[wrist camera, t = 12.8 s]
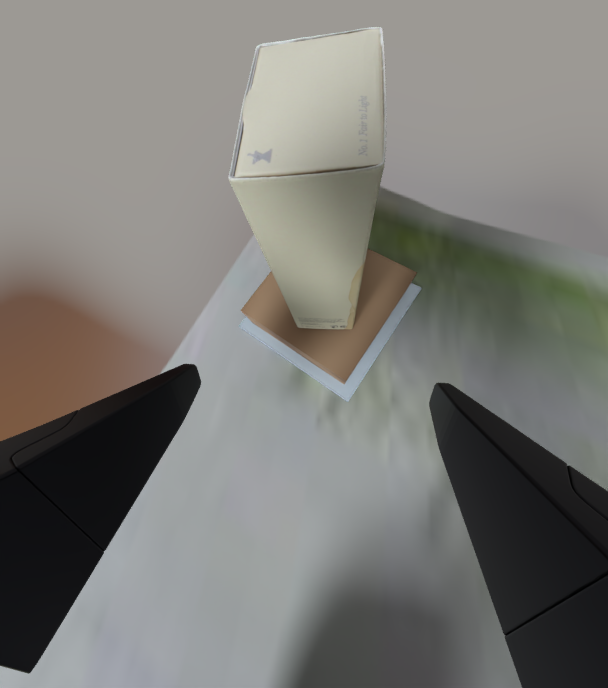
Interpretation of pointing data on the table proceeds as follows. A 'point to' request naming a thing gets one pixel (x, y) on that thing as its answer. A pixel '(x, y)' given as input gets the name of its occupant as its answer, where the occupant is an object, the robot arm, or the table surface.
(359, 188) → the skincare box
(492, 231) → the table surface
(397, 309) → the plan sheet
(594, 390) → the table surface
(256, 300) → the walnut plinth
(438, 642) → the table surface
